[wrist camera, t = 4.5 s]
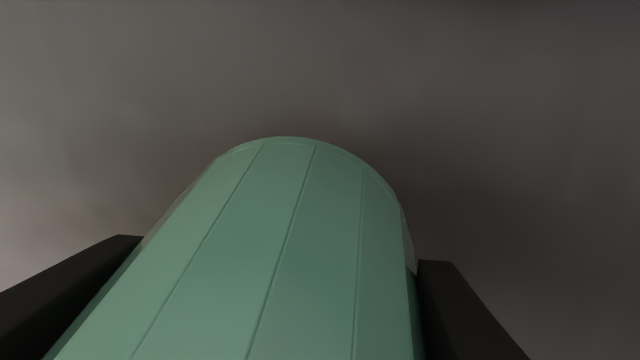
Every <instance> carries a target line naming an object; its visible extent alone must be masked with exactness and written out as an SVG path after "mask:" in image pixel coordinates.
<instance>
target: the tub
mask: <svg viewBox="0 0 640 360" xmlns="http://www.w3.org/2000/svg"><path fill="white" fill-rule="evenodd" d="M41 360H428V357H427V349H426V342H425V334H424V326H423V320H422V314H421V308H420V300H419V292H418V284H417V272H416V264H415V256H414V248H413V243H412V240H411V237H410V235H409V227H408V223H407V220H406V216H405V213H404V211H403V208H402V206H401V204H400V202H399V200H398V198H397V197H396V195H395V193H394V192H393V190H392V188H391V187H390V186H389V185H388V184H387V182H386V181H385V180H384V179H383V178H382V176H381V175H379V174H378V173H377V172H376V171H375V170H374V169H373V168H372V167H371V166H370V165H368V164H367V163H365V162H364V161H363V160H361V159H360V158H358V157H357V156H355V155H353V154H352V153H350V152H348V151H346V150H344V149H342V148H340V147H337V146H335V145H332V144H329V143H327V142H323V141H319V140H315V139H311V138H304V137H296V136H275V137H268V138H261V139H257V140H253V141H249V142H246V143H243V144H241V145H239V146H236V147H234V148H232V149H230V150H228V151H227V152H225V153H223V154H221V155H220V156H218V157H217V158H216V159H215V160H214V161H212V162H211V163H210V164H209V165H208V166H207V167H206V168H205V169H204V170H203V171H202V172H201V173H200V174H199V176H198V177H197V178H196V179H195V180H194V181H193V182H192V183H191V184H189V185H188V186H187V187H186V188H185V190H184V191H183V192H182V193H181V194H180V196H179V197H178V198H177V199H176V200H175V202H174V203H173V204H172V205H171V206H170V207H169V209H168V210H167V211H166V212H165V213H164V215H163V216H162V217H161V218H160V219H159V221H158V222H157V223H156V224H155V225H154V226H153V228H152V229H151V230H150V231H149V232H148V234H147V235H146V236H145V237H144V238H143V240H142V241H141V242H140V243H139V244H138V245H137V247H136V248H135V249H134V250H133V251H132V253H131V254H130V255H129V256H128V257H127V259H126V260H125V261H124V262H123V263H122V264H121V266H120V267H119V268H118V269H117V270H116V272H115V273H114V274H113V275H112V276H111V278H110V279H109V280H108V281H107V282H106V283H105V285H104V286H103V287H102V288H101V289H100V291H99V292H98V293H97V294H96V295H95V297H94V298H93V299H92V300H91V301H90V302H89V304H88V305H87V306H86V307H85V308H84V310H83V311H82V312H81V313H80V314H79V315H78V317H77V318H76V319H75V320H74V321H73V323H72V324H71V325H70V326H69V327H68V329H67V330H66V331H65V332H64V333H63V334H62V336H61V337H60V338H59V339H58V340H57V342H56V343H55V344H54V345H53V346H52V348H51V349H50V350H49V351H48V352H47V353H46V355H45V356H44V357H43V358H42V359H41Z"/></svg>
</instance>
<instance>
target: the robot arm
mask: <svg viewBox="0 0 640 360" xmlns="http://www.w3.org/2000/svg"><path fill="white" fill-rule="evenodd" d="M143 238H144V236H132V235H120V234H118V235H115V236H113V237H110V238H108V239H106V240H103V241H101V242H99V243H97V244H95V245H93V246H91V247H89V248H87V249H85V250H83V251H81V252H79V253H77V254H75V255H73V256H71V257H69V258H67V259H65V260H64V261H62V262H60V263H58V264H56V265H54V266H52V267H50V268H48V269H46V270H44V271H42V272H40V273H38V274H36V275H34V276H32V277H31V278H29V279H27V280H25V281H23V282H21V283H19V284H17V285H15V286H13V287H11V288H9V289H7V290H5V291H3V292H0V360H41V359H42V358H43V357H44V356H45V355H46V353H47V352H48V351H49V350H50V349H51V348H52V346H53V345H54V344H55V343H56V342H57V340H58V339H59V338H60V337H61V336H62V334H63V333H64V332H65V331H66V330H67V329H68V327H69V326H70V325H71V324H72V323H73V321H74V320H75V319H76V318H77V317H78V315H79V314H80V313H81V312H82V311H83V310H84V308H85V307H86V306H87V305H88V304H89V302H90V301H91V300H92V299H93V298H94V297H95V295H96V294H97V293H98V292H99V291H100V289H101V288H102V287H103V286H104V285H105V283H106V282H107V281H108V280H109V279H110V278H111V276H112V275H113V274H114V273H115V272H116V270H117V269H118V268H119V267H120V266H121V264H122V263H123V262H124V261H125V260H126V259H127V257H128V256H129V255H130V254H131V253H132V251H133V250H134V249H135V248H136V247H137V245H138V244H139V243H140V242H141V241H142V240H143ZM417 284H418V292H419V300H420V308H421V314H422V320H423V326H424V334H425V342H426V349H427V357H428V360H531V359H530V358H529V357H528V356H527V355H526V354H525V353H524V352H523V350H522V349H521V348H520V347H519V346H518V345H517V344H516V342H515V341H514V340H513V339H512V338H511V336H510V335H509V334H508V333H507V332H506V330H505V329H504V328H503V327H502V326H501V325H500V323H499V322H498V321H497V320H496V319H495V317H494V316H493V315H492V314H491V312H490V311H489V310H488V309H487V307H486V306H485V305H484V303H483V302H482V301H481V300H480V298H479V297H478V296H477V294H476V293H475V292H474V290H473V289H472V288H471V287H470V285H469V284H468V283H467V281H466V280H465V279H464V277H463V276H462V275H461V273H460V272H459V271H458V269H457V268H456V267H455V266H454V264H453V263H452V262H446V261H434V260H422V259H419V261H418V269H417Z"/></svg>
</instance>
